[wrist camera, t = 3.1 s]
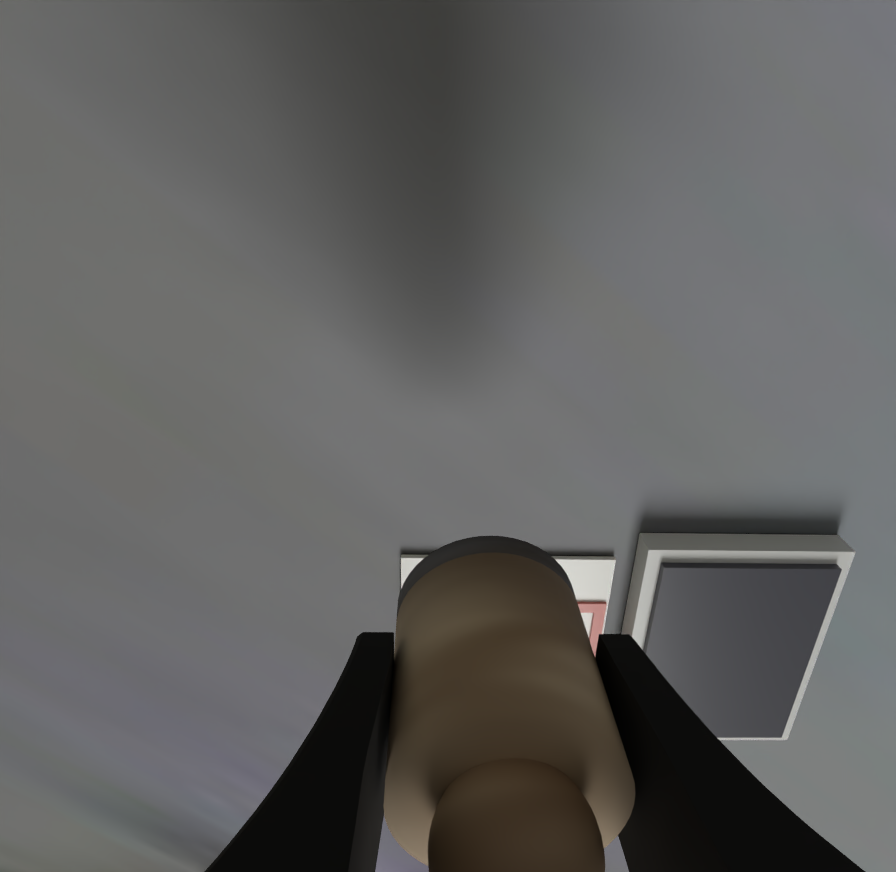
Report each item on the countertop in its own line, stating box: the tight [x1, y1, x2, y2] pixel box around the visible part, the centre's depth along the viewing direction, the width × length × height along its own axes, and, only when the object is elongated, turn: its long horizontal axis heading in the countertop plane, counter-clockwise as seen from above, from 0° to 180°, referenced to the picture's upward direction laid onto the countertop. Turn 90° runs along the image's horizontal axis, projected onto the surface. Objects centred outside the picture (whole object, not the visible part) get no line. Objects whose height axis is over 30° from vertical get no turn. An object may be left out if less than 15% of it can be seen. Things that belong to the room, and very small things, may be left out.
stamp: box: [383, 536, 635, 872], centre depth 11 cm, size 4×4×7 cm
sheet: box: [401, 555, 616, 656], centre depth 24 cm, size 8×10×1 cm
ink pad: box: [621, 533, 855, 740], centre depth 23 cm, size 7×9×1 cm
